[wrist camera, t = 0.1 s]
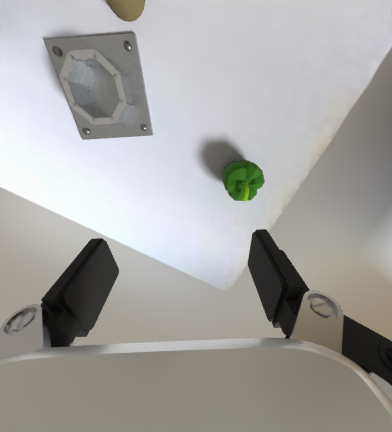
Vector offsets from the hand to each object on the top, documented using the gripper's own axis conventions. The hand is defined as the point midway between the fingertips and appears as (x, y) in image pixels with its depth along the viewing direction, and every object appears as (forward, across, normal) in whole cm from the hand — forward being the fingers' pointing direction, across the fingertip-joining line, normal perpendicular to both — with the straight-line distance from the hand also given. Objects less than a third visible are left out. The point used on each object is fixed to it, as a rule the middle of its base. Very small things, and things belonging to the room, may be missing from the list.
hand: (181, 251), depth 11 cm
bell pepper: (+31, -11, +5) cm, 34 cm away
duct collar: (+31, +15, -12) cm, 37 cm away
